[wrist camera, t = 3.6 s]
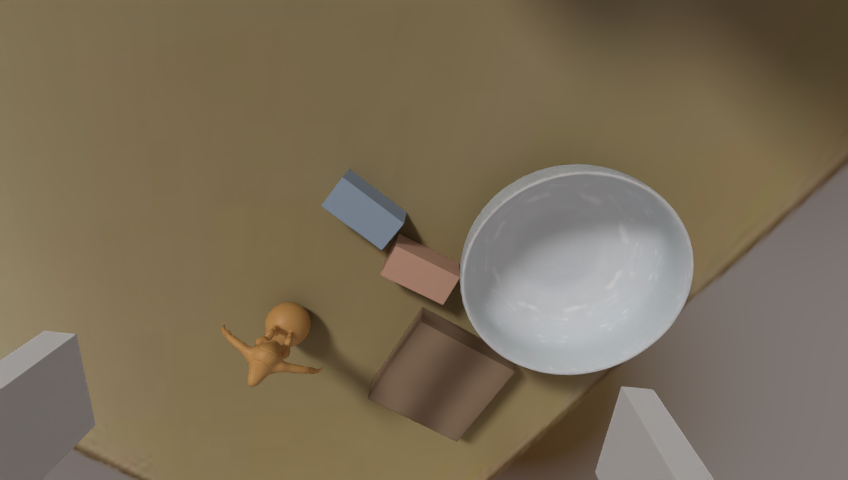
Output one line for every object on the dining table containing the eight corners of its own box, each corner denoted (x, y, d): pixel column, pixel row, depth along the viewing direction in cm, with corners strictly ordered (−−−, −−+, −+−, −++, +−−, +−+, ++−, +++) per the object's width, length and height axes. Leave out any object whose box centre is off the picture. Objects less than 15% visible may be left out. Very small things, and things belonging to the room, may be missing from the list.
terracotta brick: (384, 260, 40) (379, 274, 38) (399, 232, 39) (395, 245, 37) (442, 288, 41) (442, 305, 38) (458, 262, 40) (460, 277, 37)
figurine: (246, 310, 43) (177, 399, 31) (268, 259, 41) (203, 335, 29) (326, 346, 44) (287, 443, 33) (351, 298, 42) (319, 385, 31)
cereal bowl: (417, 250, 40) (413, 287, 33) (560, 105, 35) (588, 116, 28) (548, 359, 44) (566, 413, 37) (693, 243, 39) (745, 281, 32)
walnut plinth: (372, 377, 46) (368, 398, 43) (422, 304, 42) (421, 321, 39) (455, 419, 47) (456, 441, 44) (510, 351, 44) (515, 371, 41)
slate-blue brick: (329, 195, 38) (321, 205, 36) (349, 168, 37) (342, 177, 35) (385, 236, 40) (381, 250, 37) (406, 211, 39) (403, 223, 36)
